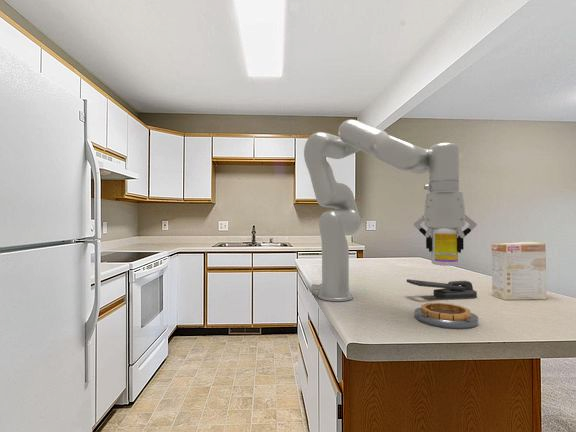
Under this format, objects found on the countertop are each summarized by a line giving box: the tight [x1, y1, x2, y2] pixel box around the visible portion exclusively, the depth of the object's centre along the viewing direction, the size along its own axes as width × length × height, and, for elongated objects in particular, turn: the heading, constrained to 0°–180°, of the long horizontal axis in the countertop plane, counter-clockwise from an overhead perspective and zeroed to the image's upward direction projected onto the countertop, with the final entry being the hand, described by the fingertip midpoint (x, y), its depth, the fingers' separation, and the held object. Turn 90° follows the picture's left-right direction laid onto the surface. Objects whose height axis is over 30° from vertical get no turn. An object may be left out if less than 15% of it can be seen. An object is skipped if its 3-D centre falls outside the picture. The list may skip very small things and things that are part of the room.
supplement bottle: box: [430, 228, 459, 267], centre depth 91 cm, size 7×7×13 cm
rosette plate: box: [414, 302, 479, 330], centre depth 91 cm, size 16×16×3 cm
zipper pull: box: [406, 278, 478, 301], centre depth 116 cm, size 9×7×25 cm
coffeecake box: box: [491, 241, 547, 301], centre depth 115 cm, size 15×7×20 cm, turn 91°
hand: (444, 251), depth 91 cm, fingers closed on supplement bottle, 6 cm apart
